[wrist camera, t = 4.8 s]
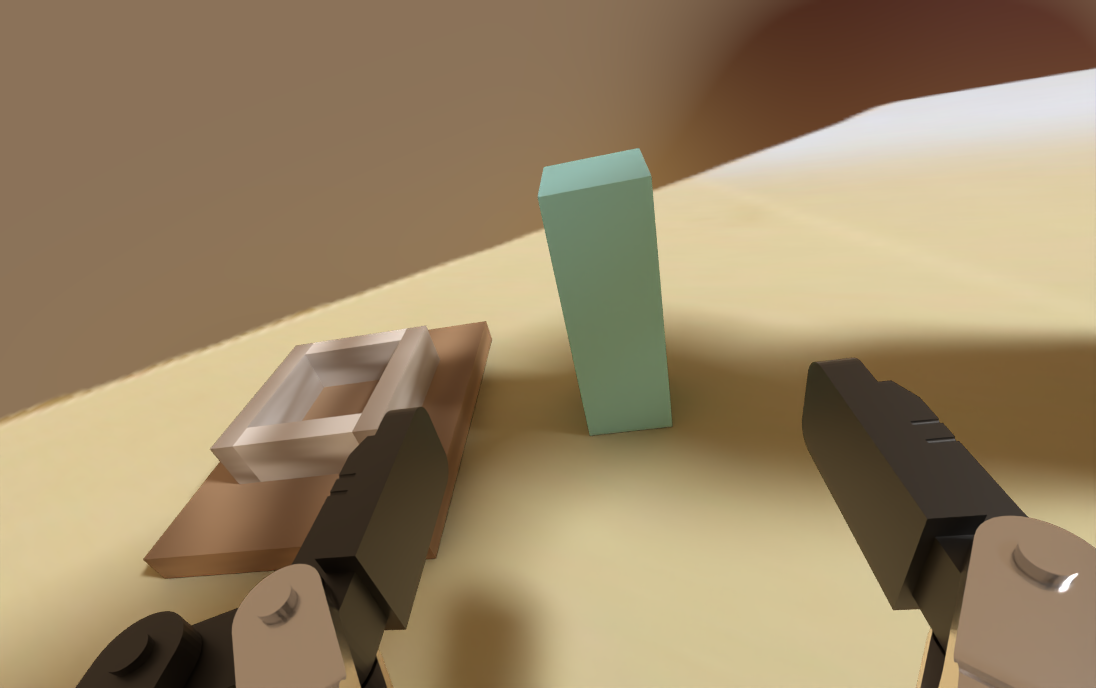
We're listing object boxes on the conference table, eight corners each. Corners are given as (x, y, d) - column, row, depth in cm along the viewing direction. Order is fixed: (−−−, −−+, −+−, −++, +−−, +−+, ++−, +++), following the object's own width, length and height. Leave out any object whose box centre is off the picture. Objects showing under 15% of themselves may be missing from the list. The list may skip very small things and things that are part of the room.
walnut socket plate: (491, 339, 33) (475, 288, 31) (435, 558, 20) (399, 495, 18) (319, 364, 35) (292, 318, 33) (165, 578, 22) (102, 524, 20)
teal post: (660, 374, 26) (639, 148, 20) (672, 426, 23) (651, 175, 17) (588, 383, 27) (543, 166, 21) (589, 435, 24) (537, 197, 17)
